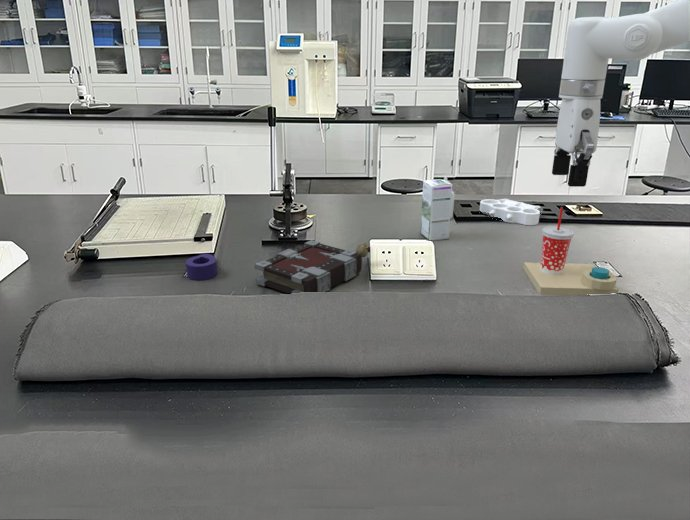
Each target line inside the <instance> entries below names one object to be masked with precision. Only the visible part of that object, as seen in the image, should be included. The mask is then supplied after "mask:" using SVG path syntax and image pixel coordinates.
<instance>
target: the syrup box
mask: <svg viewBox="0 0 690 520" xmlns="http://www.w3.org/2000/svg"><path fill="white" fill-rule="evenodd" d="M449 182H450V181H449ZM449 182H447V181H445V180H444V178H443V179H442V178H432V179H426V180H423V181H422V195H421V196H422V197H421V216H420V217H421V218H420V235H421V236H423V237H424V238H425V239H427V240H428V241H430V240H432V241H442V240H443V241H444V240H449V239H450V229H451V228H450V227H451V226H450V225H451V224H450V223H451V219H450V213H451V198H452V191H453V183H451V182H450V183H449Z"/></svg>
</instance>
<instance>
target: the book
mask: <svg viewBox="0 0 690 520" xmlns="http://www.w3.org/2000/svg"><path fill="white" fill-rule="evenodd" d="M370 248H371V247H370V246H368V243H367V242H365V243H362V244H359V245H357V247H356V249H355V251H354V250H350V249H343V248H338V247H335V246H331V245H327V244H324V243H321V242H320V241H317V240H313V239H310V240H308V241H306V242H304V244H302V245H300V246H298V247H295V248H293V249H292V248H287V249H285V250H281V252H278V253H275V254H274V256H273V257H271V258H269V259H267V260H260V261H258V262H256V263H254V270H258V271H261V272H263V273H262V274H263V275H260V276H257V278H255V284H257V285H258V286H262V287H268V288H271V289H274V290H277V291H280V292H282V293H285V294H288V293H300V292H325V293H327V292H329V291H330V290H331V288H333V287H335V286H338V285H339V284H341V283H342V282H347V281H349V280H352V279H353V278H354V277H356V276H357V274H359V273H360V272H361V271H362V265H363V260H362V258H366V257H367V256H368V253H371V252H370ZM326 291H327V292H326Z"/></svg>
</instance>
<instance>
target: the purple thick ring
mask: <svg viewBox="0 0 690 520" xmlns="http://www.w3.org/2000/svg"><path fill="white" fill-rule="evenodd" d="M217 262H218V261H217V258H216V257H215V256H214V255H213V254H210V253H202V254H198V255H195V256H191V257H189V258H187V259H186V260H185V269H186V276H187V278H188V279H189V280H191V281H207V280H211V279H213V278H215V277H216V276H218V264H217Z"/></svg>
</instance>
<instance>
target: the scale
mask: <svg viewBox="0 0 690 520" xmlns="http://www.w3.org/2000/svg"><path fill="white" fill-rule="evenodd" d="M540 265H541V262H529V261H528V262H523V267H522V270H523V271H524V273H525V274H526V276H527V277H528V279H529V280H530V282H531V283H532V285H533V286H534V289H536V291H537V292H538V294H539V295H540V296H541V295H544V296H545V295H546V296H547V295H548V296H577V295H587V294H588V295H589V294H611V293H618V292H619V289H618V288H617V286H616V284H617V280H618V277H617V276H616V275H615V274H614V273H611V272H609V277H608V279H597V278H594V277H592V276H591V272H592V268H594V267H597V266H596V265H595V264H594V263H570V262H569V263H567V262H565V266H564V270H563V273H562V274H561V275H549V274H545V273H543V272H541V270H540Z"/></svg>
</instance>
